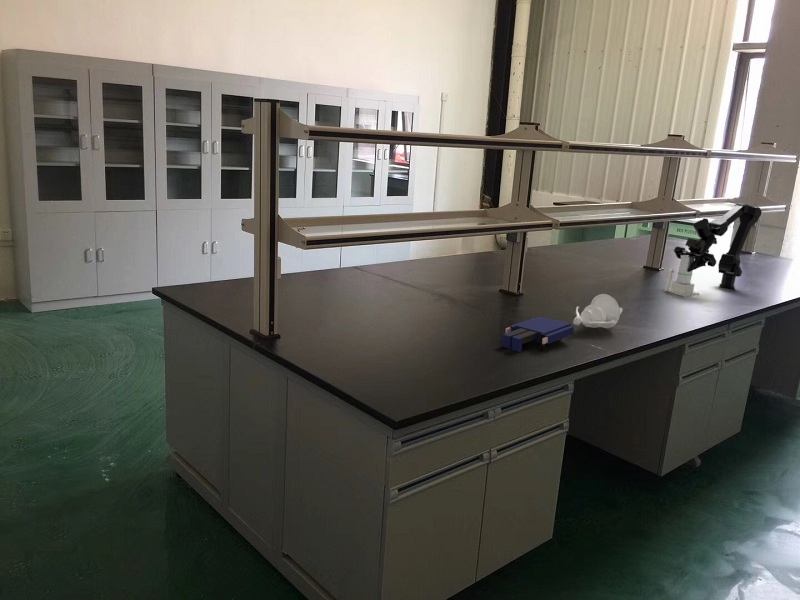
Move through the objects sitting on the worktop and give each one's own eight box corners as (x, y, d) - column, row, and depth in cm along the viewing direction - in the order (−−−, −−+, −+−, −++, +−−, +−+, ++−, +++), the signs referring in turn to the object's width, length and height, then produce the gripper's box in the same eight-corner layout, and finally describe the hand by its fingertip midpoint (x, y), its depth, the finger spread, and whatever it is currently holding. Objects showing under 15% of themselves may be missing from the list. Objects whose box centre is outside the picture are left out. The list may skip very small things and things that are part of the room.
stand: (678, 288, 302) (682, 267, 299) (699, 294, 293) (703, 272, 290) (663, 290, 296) (667, 268, 294) (684, 296, 288) (688, 274, 285)
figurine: (642, 299, 229) (599, 309, 213) (635, 331, 233) (592, 343, 217) (602, 285, 241) (558, 294, 226) (595, 316, 245) (552, 327, 229)
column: (681, 282, 296) (687, 254, 293) (690, 284, 293) (695, 256, 289) (675, 283, 294) (680, 255, 291) (684, 285, 291) (689, 257, 287)
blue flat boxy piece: (492, 329, 209) (539, 313, 225) (491, 348, 210) (538, 331, 227) (530, 340, 198) (577, 323, 214) (530, 359, 200) (576, 341, 216)
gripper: (679, 228, 297) (659, 254, 294) (717, 236, 282) (696, 263, 279) (687, 245, 303) (668, 270, 300) (725, 253, 288) (704, 279, 285)
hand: (683, 270), depth 291 cm, fingers closed on column, 4 cm apart
